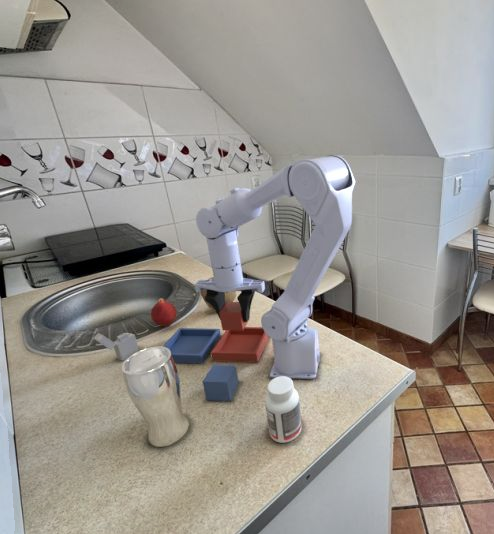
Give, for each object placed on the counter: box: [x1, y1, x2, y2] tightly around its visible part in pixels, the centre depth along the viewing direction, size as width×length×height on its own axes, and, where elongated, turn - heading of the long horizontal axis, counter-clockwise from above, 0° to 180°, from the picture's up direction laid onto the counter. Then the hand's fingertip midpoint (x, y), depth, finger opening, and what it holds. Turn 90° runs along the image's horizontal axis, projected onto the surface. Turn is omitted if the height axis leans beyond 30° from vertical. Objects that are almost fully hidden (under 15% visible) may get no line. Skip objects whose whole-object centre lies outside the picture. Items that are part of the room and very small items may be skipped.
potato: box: [199, 276, 237, 312], centre depth 90 cm, size 9×9×10 cm
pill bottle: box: [264, 376, 302, 444], centre depth 52 cm, size 5×5×10 cm
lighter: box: [92, 332, 140, 361], centre depth 71 cm, size 7×2×8 cm, turn 154°
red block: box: [219, 301, 250, 331], centre depth 72 cm, size 5×5×5 cm
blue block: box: [202, 364, 240, 402], centre depth 61 cm, size 5×5×5 cm
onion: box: [150, 298, 178, 327], centre depth 83 cm, size 6×6×8 cm
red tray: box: [210, 326, 270, 363], centre depth 75 cm, size 10×10×2 cm
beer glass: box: [121, 345, 190, 448], centre depth 51 cm, size 7×7×15 cm
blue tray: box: [162, 327, 222, 365], centre depth 75 cm, size 10×10×2 cm
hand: (235, 319), depth 72 cm, fingers closed on red block, 4 cm apart
